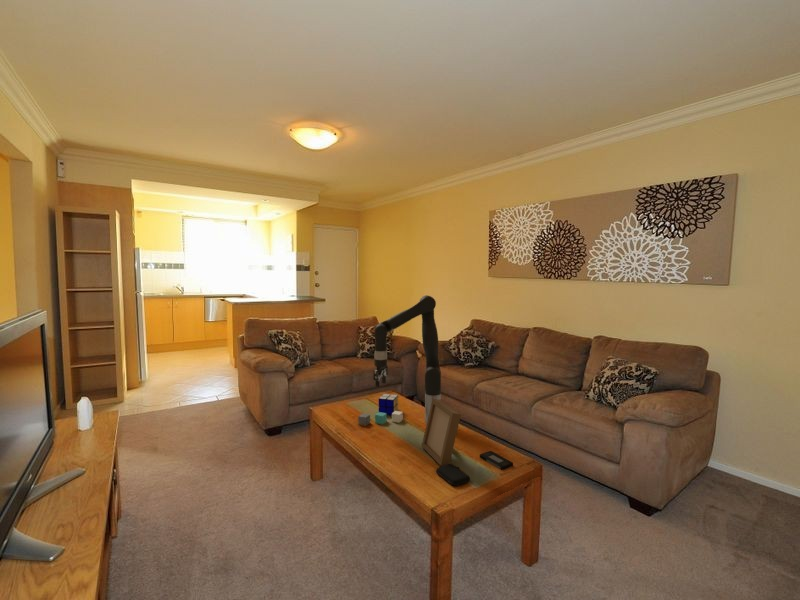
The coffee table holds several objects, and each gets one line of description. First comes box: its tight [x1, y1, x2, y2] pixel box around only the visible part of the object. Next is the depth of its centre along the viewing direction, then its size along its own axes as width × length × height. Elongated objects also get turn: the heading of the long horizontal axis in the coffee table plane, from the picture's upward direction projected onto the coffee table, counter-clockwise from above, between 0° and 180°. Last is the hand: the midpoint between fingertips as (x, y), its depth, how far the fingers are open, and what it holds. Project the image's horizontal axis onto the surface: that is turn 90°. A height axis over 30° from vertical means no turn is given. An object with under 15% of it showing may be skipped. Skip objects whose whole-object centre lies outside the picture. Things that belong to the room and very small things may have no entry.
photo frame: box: [421, 399, 462, 467], centre depth 192 cm, size 15×22×25 cm
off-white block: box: [391, 410, 404, 424], centre depth 237 cm, size 5×5×5 cm
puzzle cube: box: [378, 393, 399, 416], centre depth 251 cm, size 10×10×10 cm
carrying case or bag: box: [435, 463, 471, 487], centre depth 173 cm, size 11×3×15 cm
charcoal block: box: [357, 413, 371, 427], centre depth 232 cm, size 5×5×5 cm
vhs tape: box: [479, 450, 514, 471], centre depth 187 cm, size 8×14×2 cm, turn 32°
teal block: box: [374, 411, 388, 425], centre depth 235 cm, size 5×5×5 cm
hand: (380, 385), depth 233 cm, fingers open, 8 cm apart
